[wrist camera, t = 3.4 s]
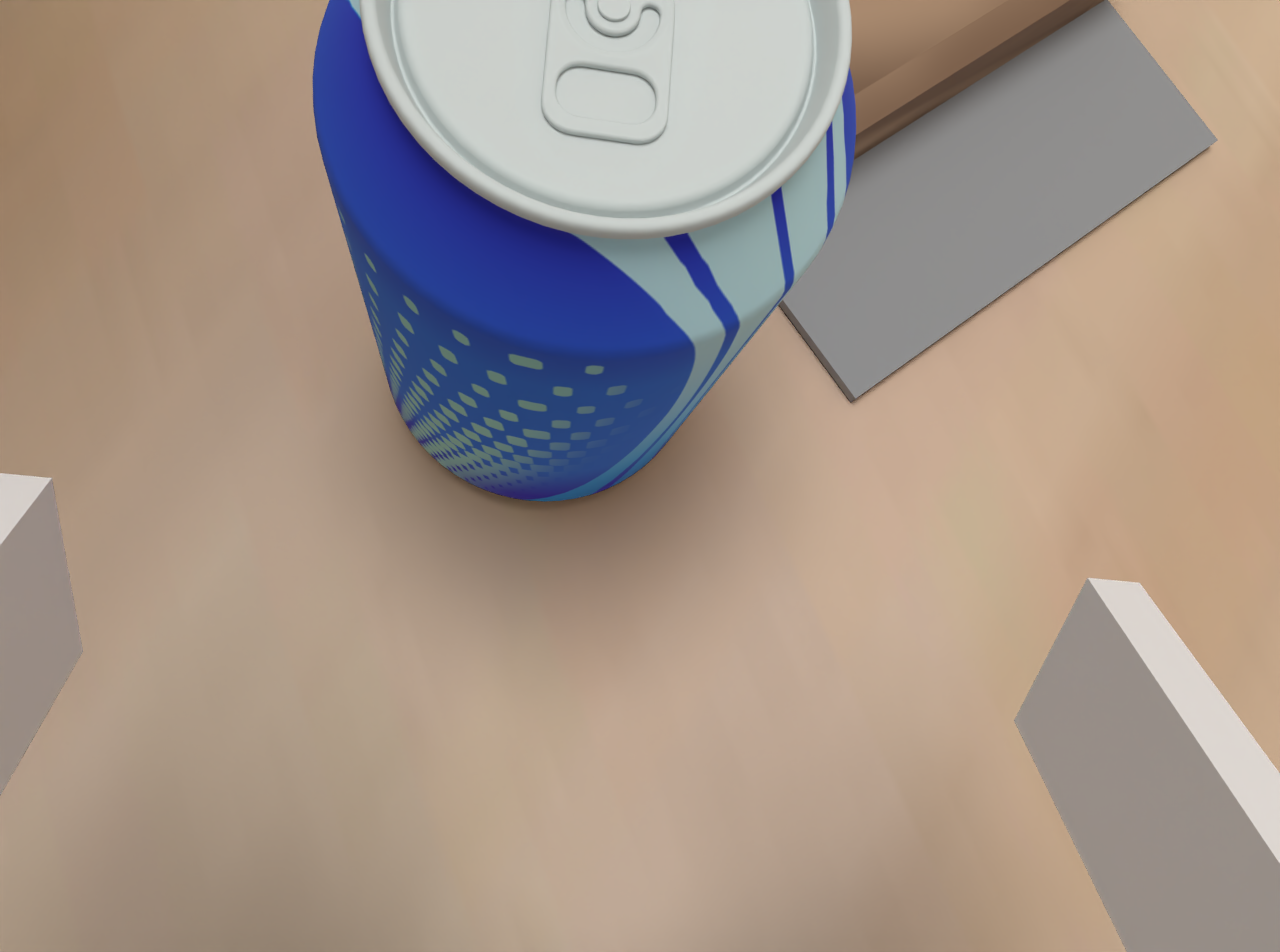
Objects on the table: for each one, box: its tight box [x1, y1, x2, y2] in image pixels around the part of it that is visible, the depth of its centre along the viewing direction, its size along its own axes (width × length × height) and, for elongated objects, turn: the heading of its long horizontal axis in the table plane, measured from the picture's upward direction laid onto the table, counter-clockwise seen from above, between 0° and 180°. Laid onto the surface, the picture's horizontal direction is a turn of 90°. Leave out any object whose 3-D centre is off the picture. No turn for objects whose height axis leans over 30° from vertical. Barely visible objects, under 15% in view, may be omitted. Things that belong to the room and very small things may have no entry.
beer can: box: [313, 0, 856, 501], centre depth 21 cm, size 8×8×16 cm
